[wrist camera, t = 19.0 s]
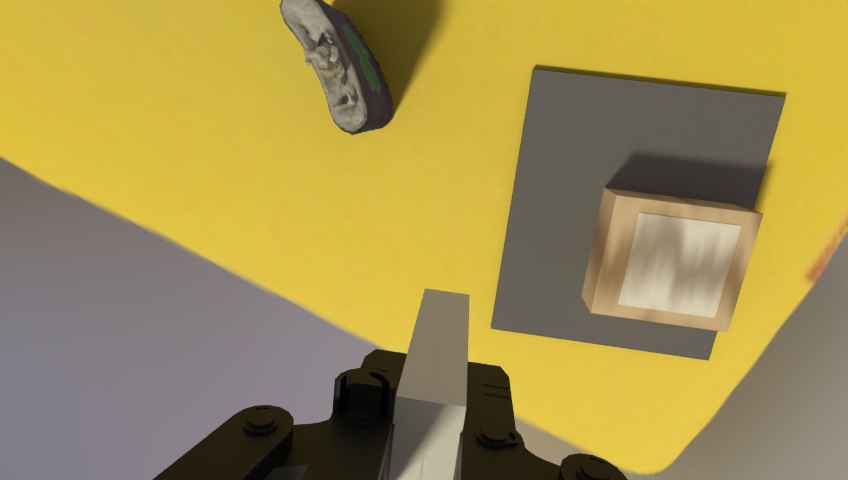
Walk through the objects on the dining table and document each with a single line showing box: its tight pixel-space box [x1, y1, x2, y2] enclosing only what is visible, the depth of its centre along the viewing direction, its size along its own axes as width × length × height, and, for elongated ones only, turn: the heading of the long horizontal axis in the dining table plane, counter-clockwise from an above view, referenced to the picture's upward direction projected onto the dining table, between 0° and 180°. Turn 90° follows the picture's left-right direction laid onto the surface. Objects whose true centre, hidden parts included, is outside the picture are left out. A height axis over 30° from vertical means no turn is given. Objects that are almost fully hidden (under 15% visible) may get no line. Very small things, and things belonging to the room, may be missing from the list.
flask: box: [280, 0, 394, 135], centre depth 34 cm, size 9×3×11 cm, turn 26°
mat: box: [491, 69, 785, 360], centre depth 40 cm, size 21×18×1 cm
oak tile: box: [581, 188, 763, 332], centre depth 38 cm, size 9×4×10 cm
